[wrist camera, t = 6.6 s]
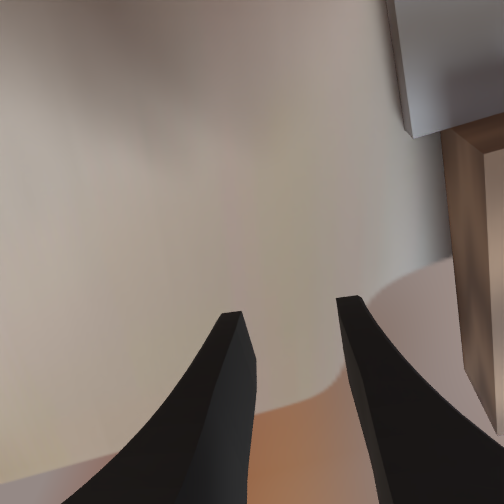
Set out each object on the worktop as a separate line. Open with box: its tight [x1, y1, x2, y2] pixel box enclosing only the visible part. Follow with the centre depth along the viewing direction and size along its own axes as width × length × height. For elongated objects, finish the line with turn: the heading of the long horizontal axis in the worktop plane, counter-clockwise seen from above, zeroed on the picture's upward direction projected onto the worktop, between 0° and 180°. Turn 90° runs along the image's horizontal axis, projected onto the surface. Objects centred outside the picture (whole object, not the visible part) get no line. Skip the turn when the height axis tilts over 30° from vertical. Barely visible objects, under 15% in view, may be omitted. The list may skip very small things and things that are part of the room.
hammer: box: [386, 0, 504, 436], centre depth 16 cm, size 19×5×4 cm, turn 19°
